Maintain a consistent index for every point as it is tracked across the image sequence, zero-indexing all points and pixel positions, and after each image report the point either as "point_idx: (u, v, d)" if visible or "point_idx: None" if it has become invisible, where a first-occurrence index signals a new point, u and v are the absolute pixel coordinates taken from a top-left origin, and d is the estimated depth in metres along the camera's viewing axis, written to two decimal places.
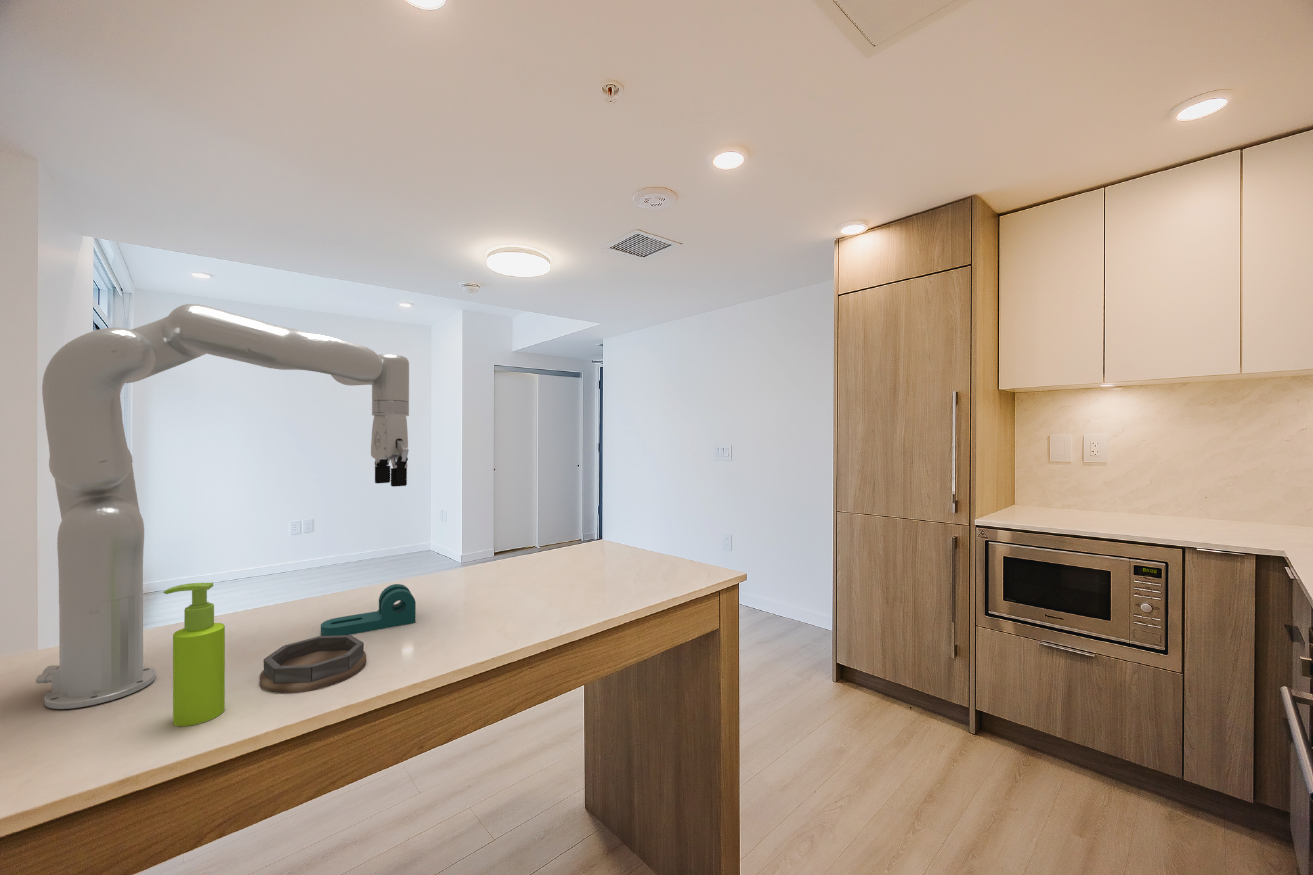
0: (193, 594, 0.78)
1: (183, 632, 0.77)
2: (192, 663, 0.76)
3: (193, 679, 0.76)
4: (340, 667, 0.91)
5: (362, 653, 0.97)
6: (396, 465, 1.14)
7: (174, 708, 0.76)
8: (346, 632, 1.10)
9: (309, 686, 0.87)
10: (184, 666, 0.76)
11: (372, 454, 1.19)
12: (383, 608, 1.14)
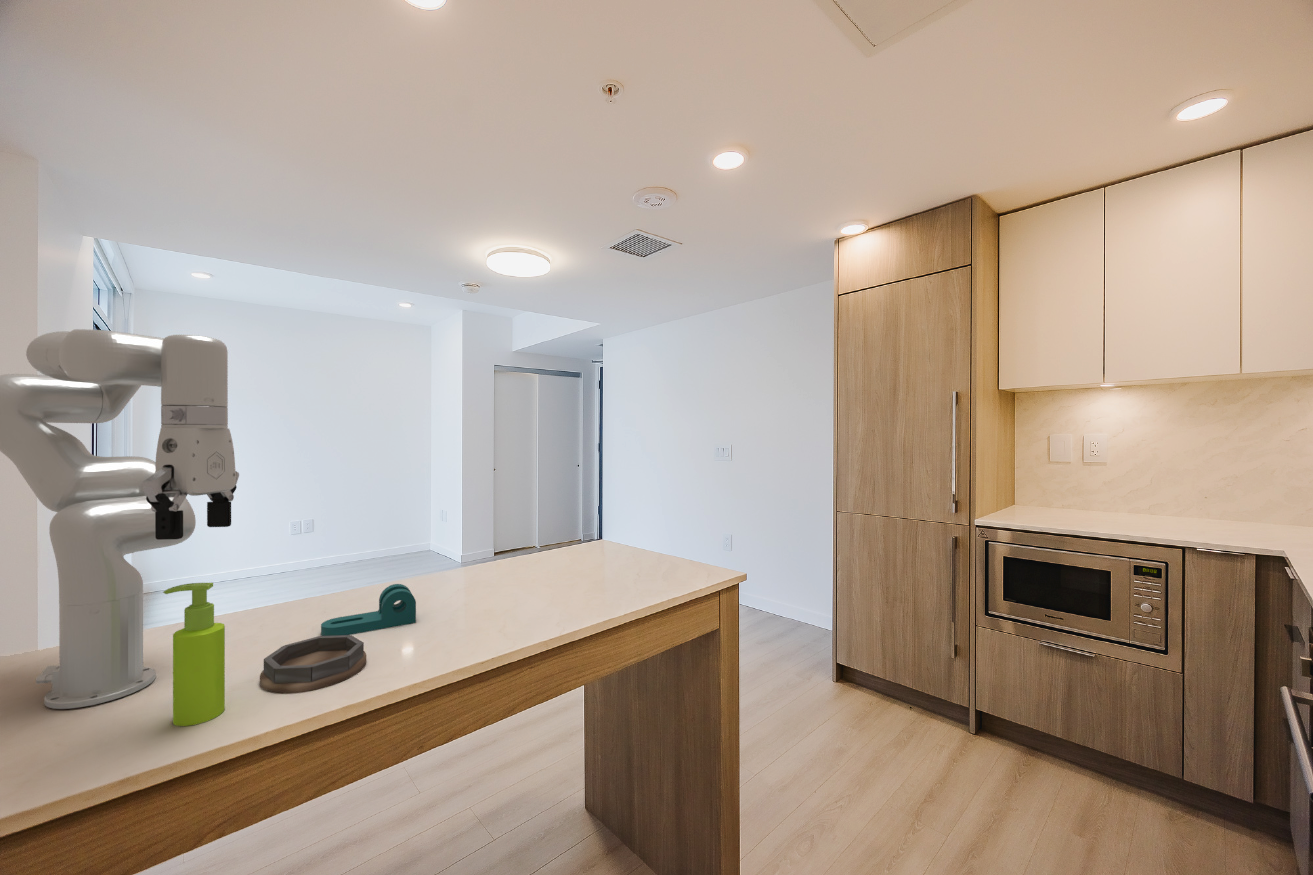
0: (193, 594, 0.78)
1: (183, 632, 0.77)
2: (192, 663, 0.76)
3: (193, 679, 0.76)
4: (340, 667, 0.91)
5: (362, 653, 0.97)
6: None
7: (174, 708, 0.76)
8: (346, 632, 1.10)
9: (309, 686, 0.87)
10: (184, 666, 0.76)
11: (199, 489, 0.76)
12: (383, 608, 1.14)
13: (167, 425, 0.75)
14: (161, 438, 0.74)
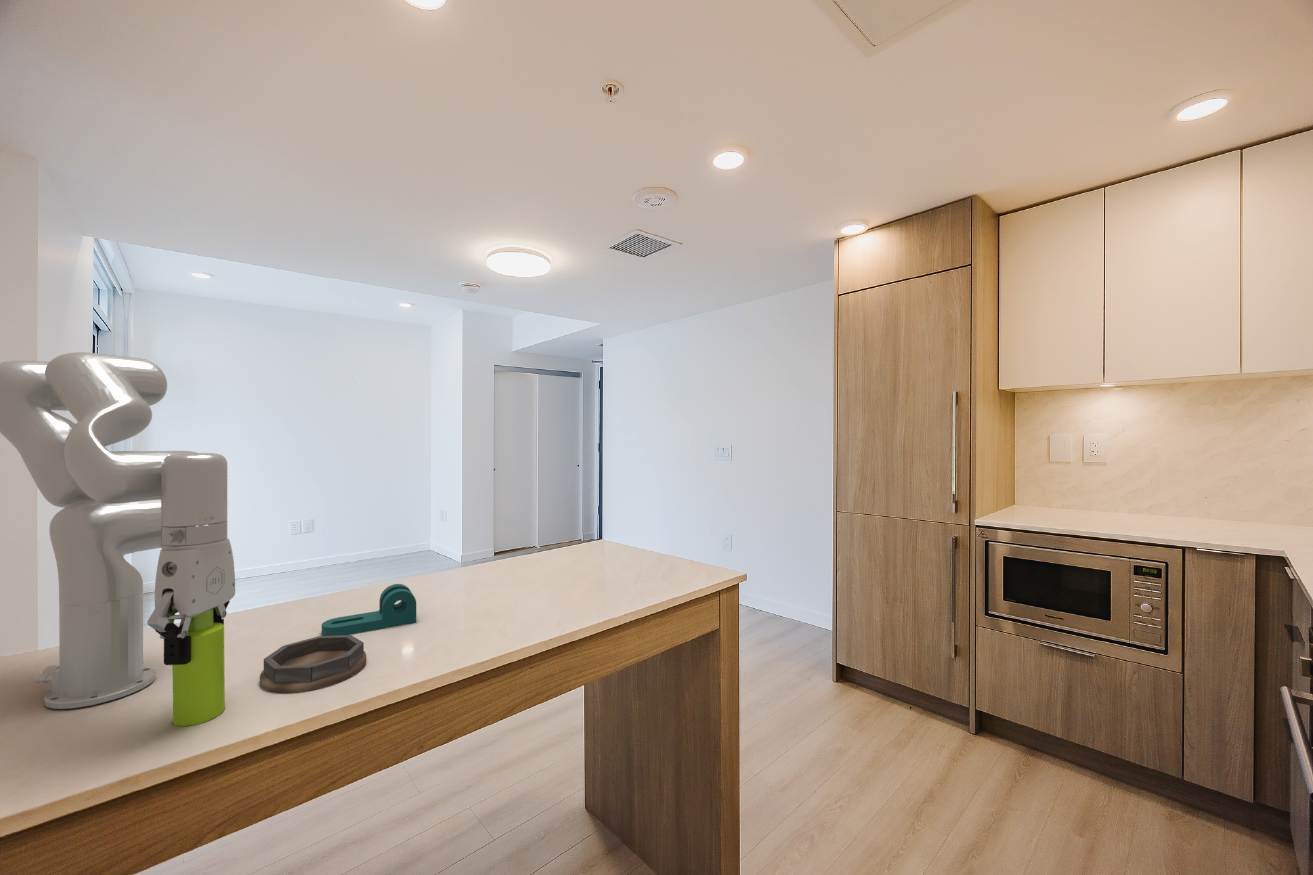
0: None
1: None
2: (191, 663, 0.76)
3: (193, 679, 0.76)
4: (340, 667, 0.91)
5: (362, 653, 0.97)
6: None
7: (174, 708, 0.76)
8: (347, 632, 1.10)
9: (309, 686, 0.87)
10: (183, 666, 0.76)
11: (199, 609, 0.76)
12: (384, 608, 1.14)
13: (167, 547, 0.75)
14: (161, 561, 0.74)
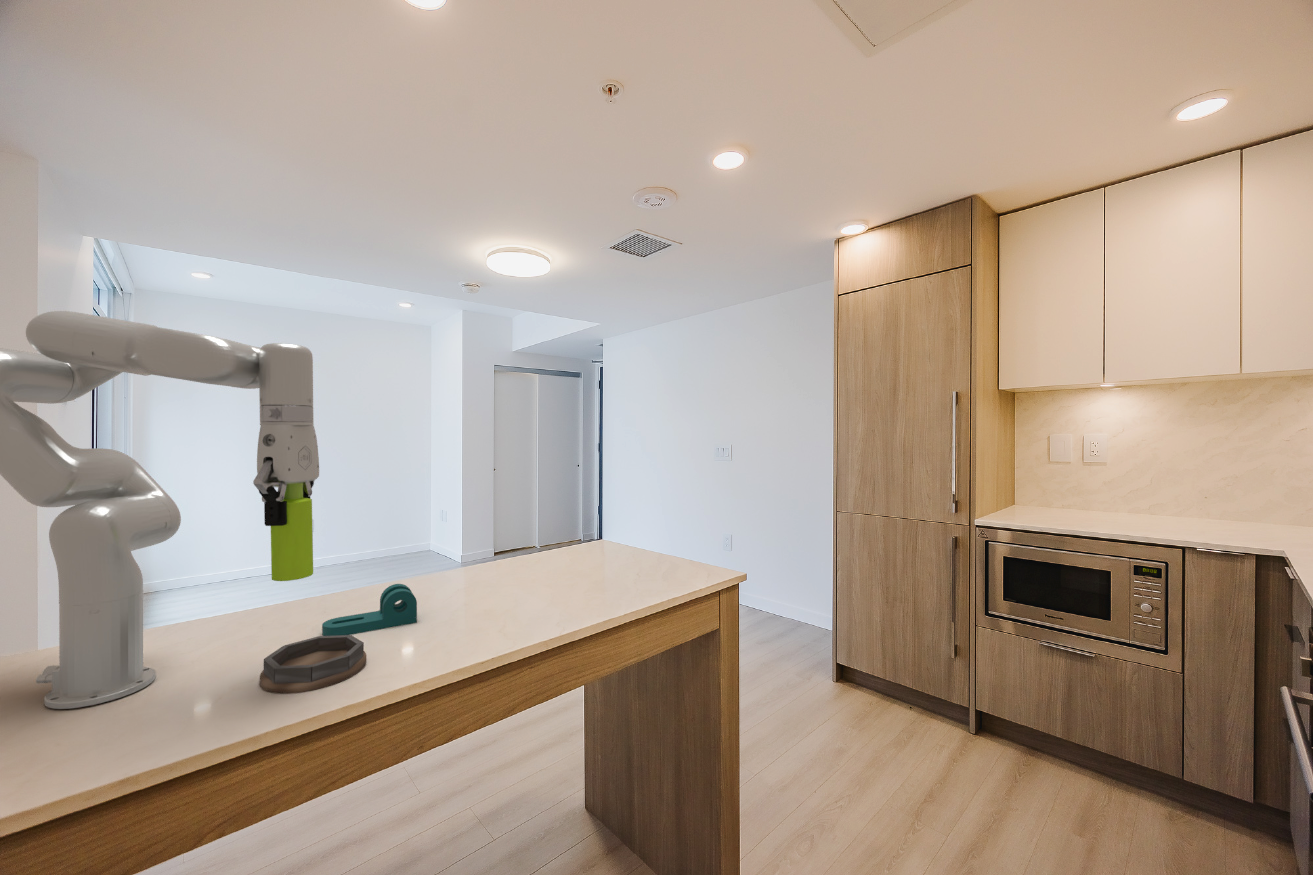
0: None
1: None
2: (287, 526, 0.87)
3: (289, 540, 0.87)
4: (340, 667, 0.91)
5: (362, 653, 0.97)
6: None
7: (273, 566, 0.87)
8: (347, 632, 1.10)
9: (309, 686, 0.87)
10: (281, 528, 0.86)
11: (293, 478, 0.86)
12: (384, 608, 1.14)
13: (266, 422, 0.86)
14: (261, 434, 0.85)
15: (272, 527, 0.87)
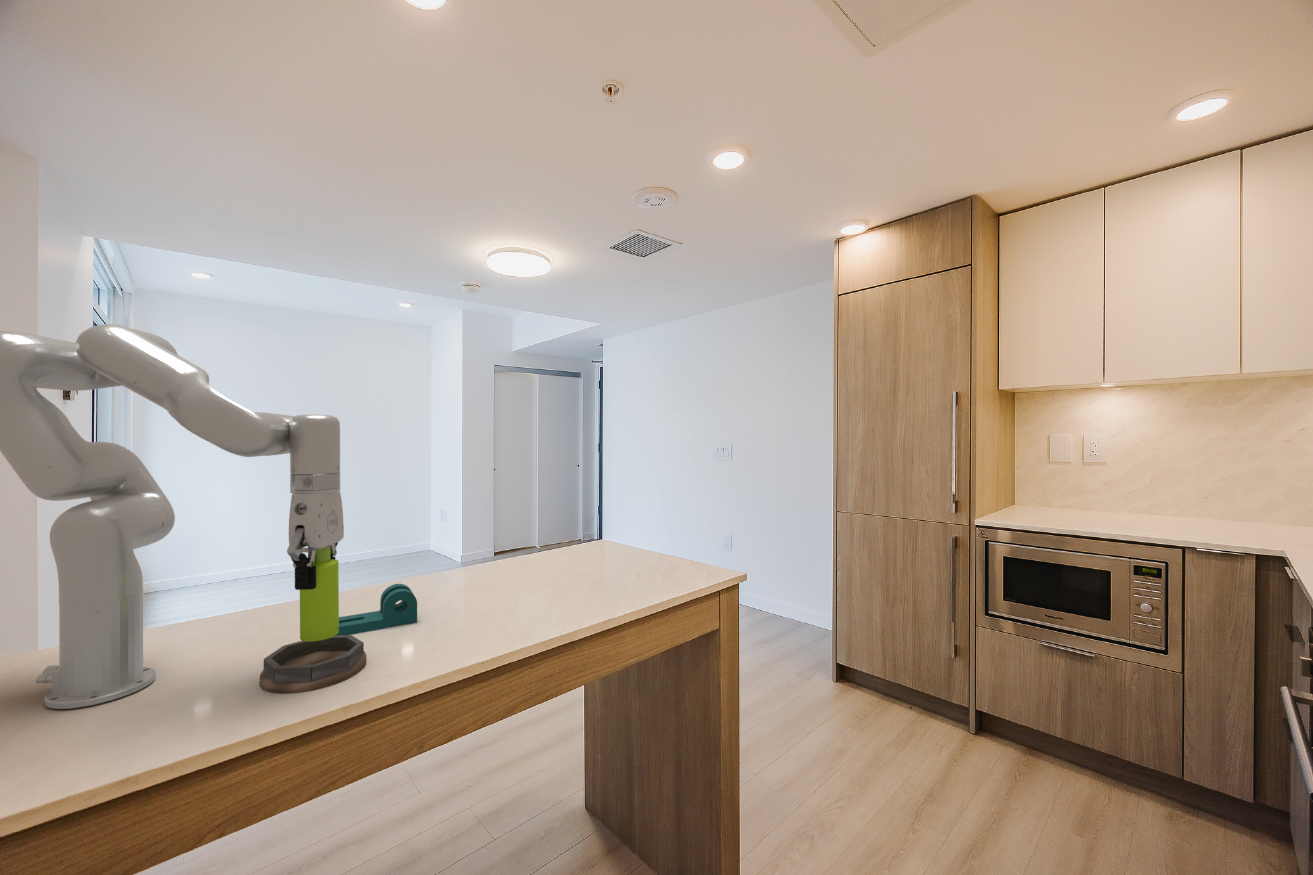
0: None
1: None
2: (316, 589, 0.91)
3: (318, 602, 0.91)
4: (340, 667, 0.91)
5: (362, 653, 0.97)
6: None
7: (302, 627, 0.91)
8: (348, 632, 1.10)
9: (309, 686, 0.87)
10: (310, 591, 0.91)
11: (323, 544, 0.91)
12: (385, 608, 1.14)
13: (297, 491, 0.90)
14: (293, 503, 0.89)
15: (302, 590, 0.91)
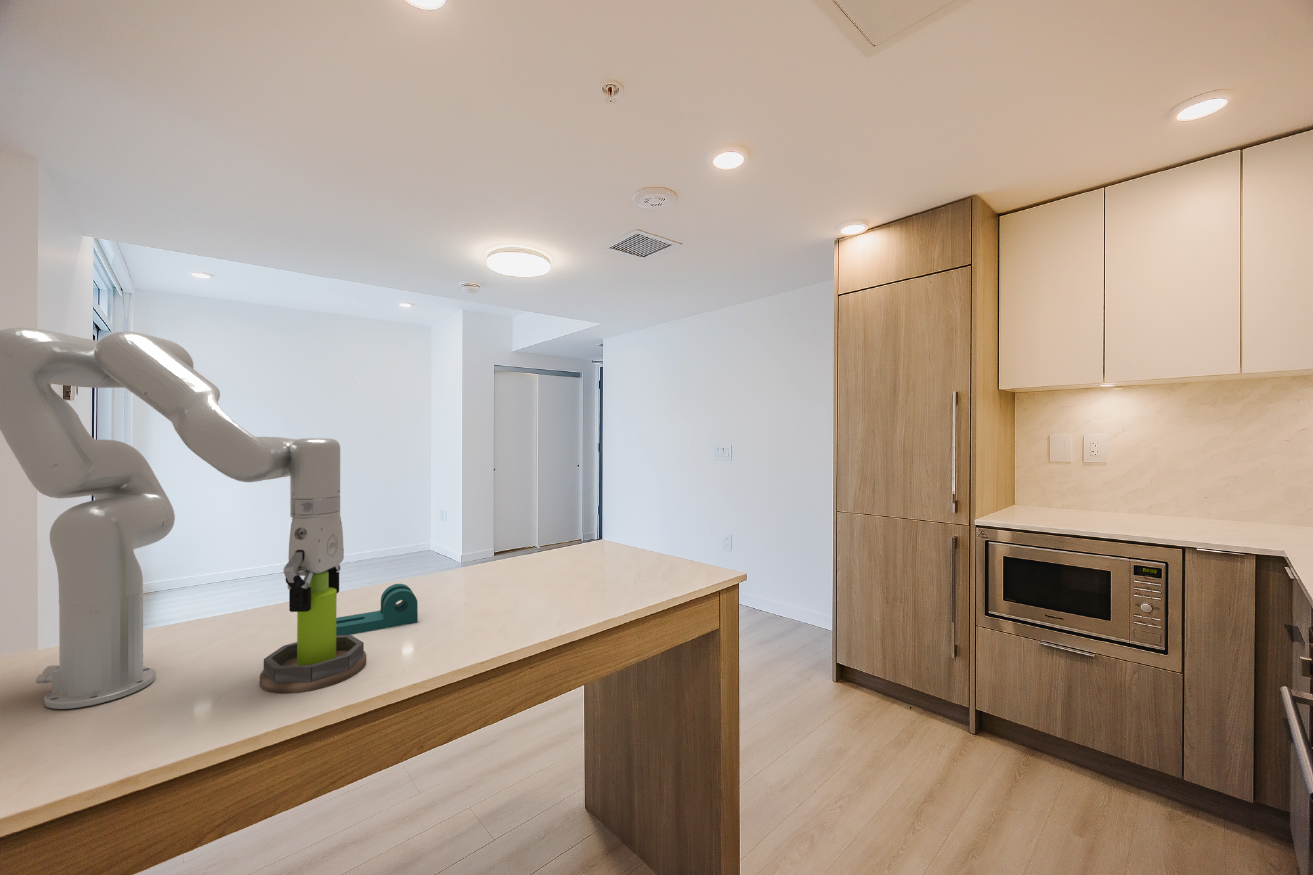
0: None
1: None
2: (314, 619, 0.91)
3: (315, 632, 0.91)
4: (340, 667, 0.91)
5: (362, 653, 0.97)
6: None
7: (299, 657, 0.91)
8: (348, 632, 1.10)
9: (309, 686, 0.87)
10: (308, 621, 0.91)
11: (322, 568, 0.91)
12: (385, 608, 1.14)
13: (297, 515, 0.90)
14: (293, 527, 0.89)
15: (299, 620, 0.91)
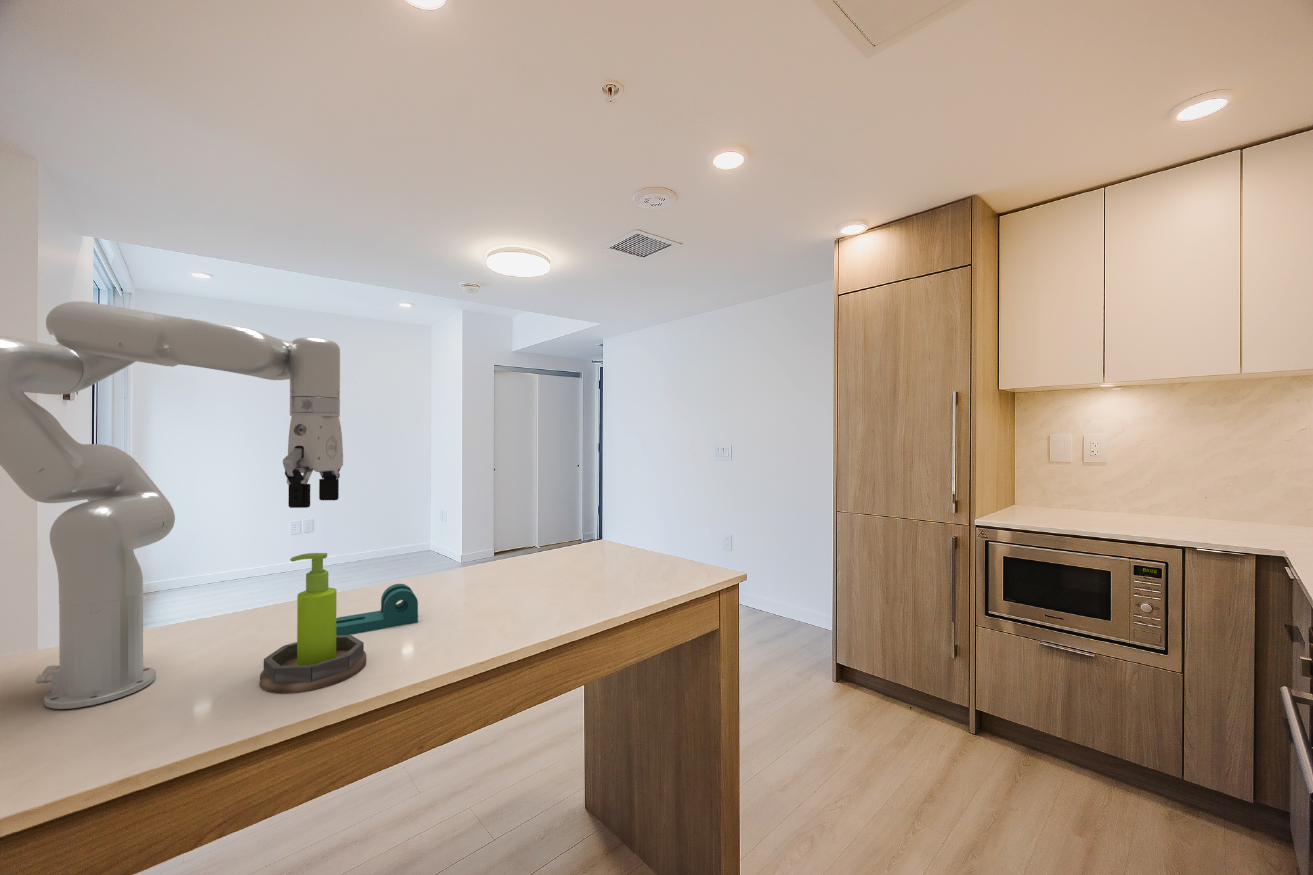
0: (313, 562, 0.93)
1: (305, 593, 0.92)
2: (314, 619, 0.91)
3: (315, 632, 0.91)
4: (340, 667, 0.91)
5: (362, 653, 0.97)
6: None
7: (299, 657, 0.91)
8: (348, 632, 1.10)
9: (309, 686, 0.87)
10: (308, 621, 0.91)
11: (322, 466, 0.90)
12: (385, 608, 1.14)
13: (296, 413, 0.90)
14: (293, 423, 0.89)
15: (299, 620, 0.91)
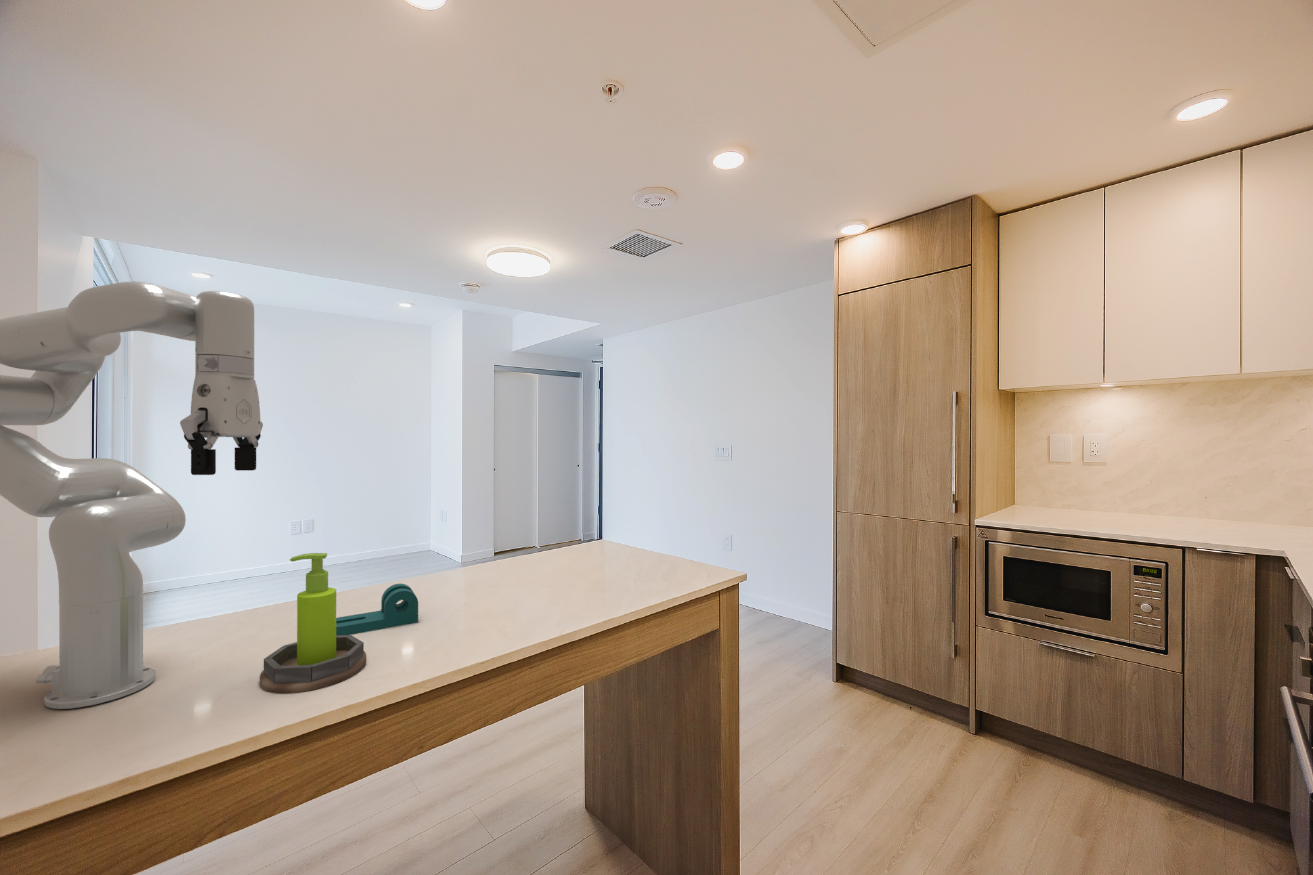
0: (313, 562, 0.92)
1: (305, 593, 0.92)
2: (314, 619, 0.91)
3: (315, 633, 0.91)
4: (340, 667, 0.91)
5: (362, 653, 0.97)
6: None
7: (299, 657, 0.91)
8: (349, 632, 1.10)
9: (309, 686, 0.87)
10: (308, 621, 0.90)
11: (230, 431, 0.83)
12: (386, 607, 1.14)
13: (201, 372, 0.82)
14: (196, 384, 0.81)
15: (299, 620, 0.91)
